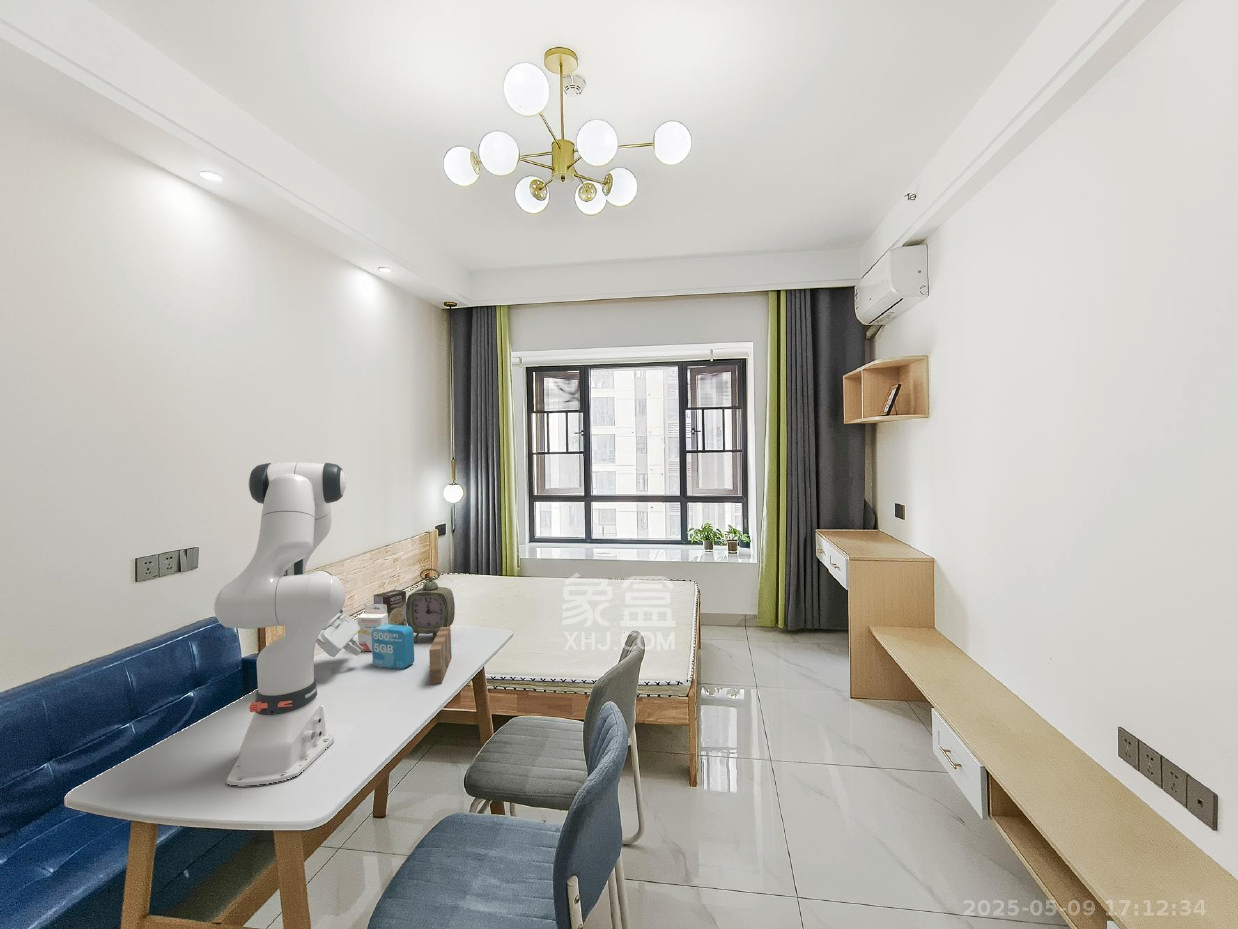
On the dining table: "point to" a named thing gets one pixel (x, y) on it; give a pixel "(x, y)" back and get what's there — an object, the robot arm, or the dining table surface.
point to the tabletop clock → (430, 607)
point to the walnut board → (440, 655)
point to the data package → (392, 646)
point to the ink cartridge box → (370, 624)
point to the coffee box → (393, 606)
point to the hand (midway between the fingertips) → (360, 652)
